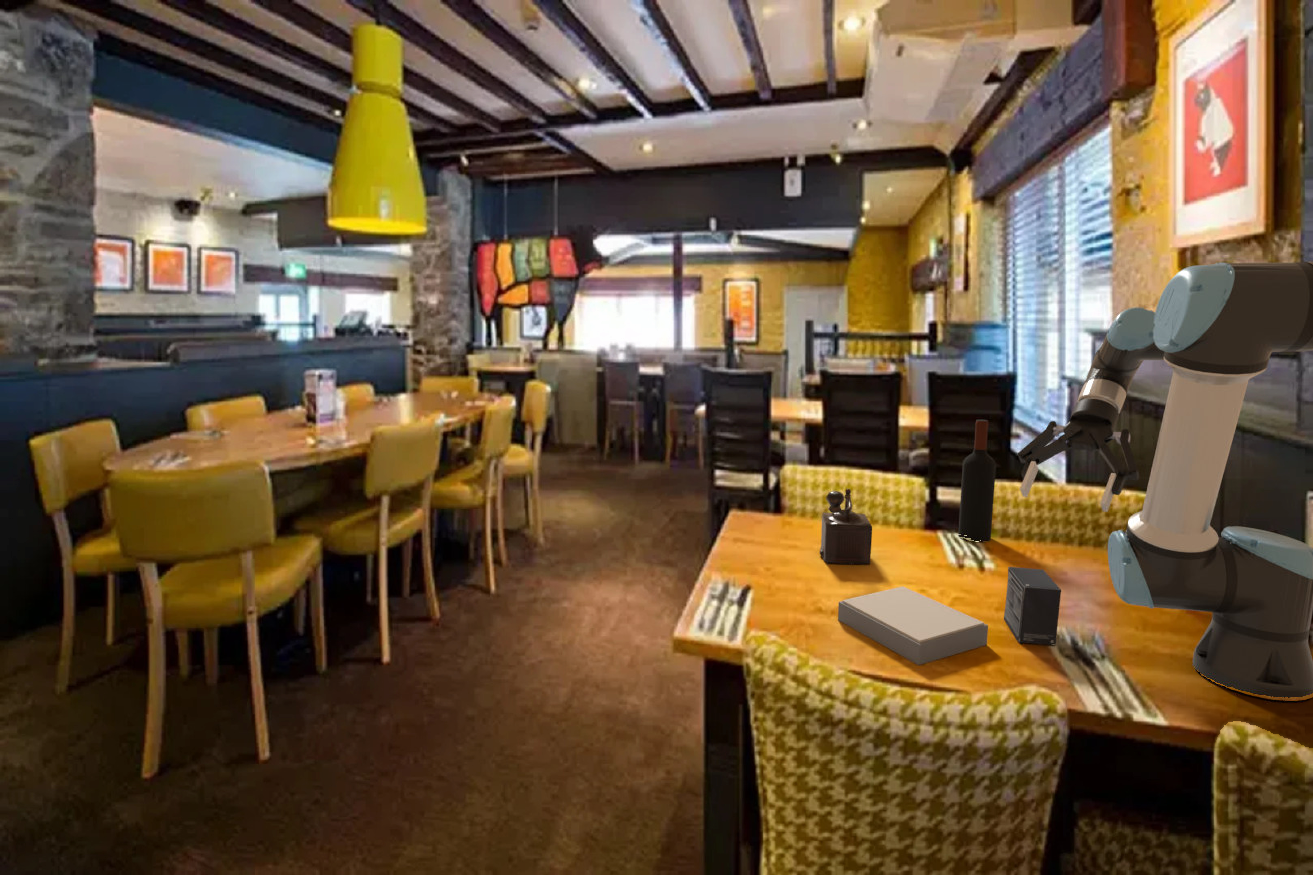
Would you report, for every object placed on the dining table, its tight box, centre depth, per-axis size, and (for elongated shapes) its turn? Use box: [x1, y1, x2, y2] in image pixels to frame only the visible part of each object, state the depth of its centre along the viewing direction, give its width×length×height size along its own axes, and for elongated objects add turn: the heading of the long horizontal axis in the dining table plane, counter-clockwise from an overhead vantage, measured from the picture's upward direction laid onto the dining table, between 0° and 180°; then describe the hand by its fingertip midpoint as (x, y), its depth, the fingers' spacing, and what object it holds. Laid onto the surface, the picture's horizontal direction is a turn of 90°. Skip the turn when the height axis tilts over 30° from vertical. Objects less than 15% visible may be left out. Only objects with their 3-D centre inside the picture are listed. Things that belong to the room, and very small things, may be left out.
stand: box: [837, 585, 989, 666], centre depth 132 cm, size 20×16×4 cm
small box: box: [1003, 566, 1062, 646], centre depth 131 cm, size 11×6×10 cm, turn 168°
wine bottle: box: [957, 419, 997, 543], centre depth 183 cm, size 8×8×30 cm
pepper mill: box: [819, 488, 873, 566], centre depth 169 cm, size 16×11×18 cm
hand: (1062, 500), depth 134 cm, fingers open, 13 cm apart
